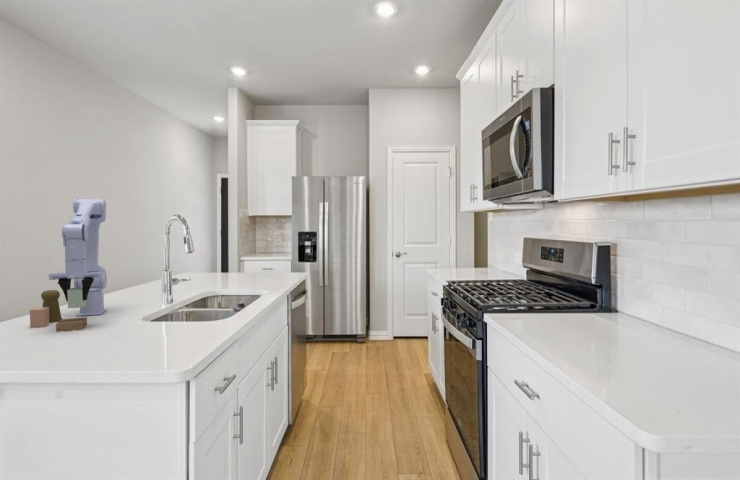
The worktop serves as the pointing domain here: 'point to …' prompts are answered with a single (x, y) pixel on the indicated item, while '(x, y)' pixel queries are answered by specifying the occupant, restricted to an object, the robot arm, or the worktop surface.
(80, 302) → the sage block
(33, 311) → the terracotta block
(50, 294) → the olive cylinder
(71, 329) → the walnut board
